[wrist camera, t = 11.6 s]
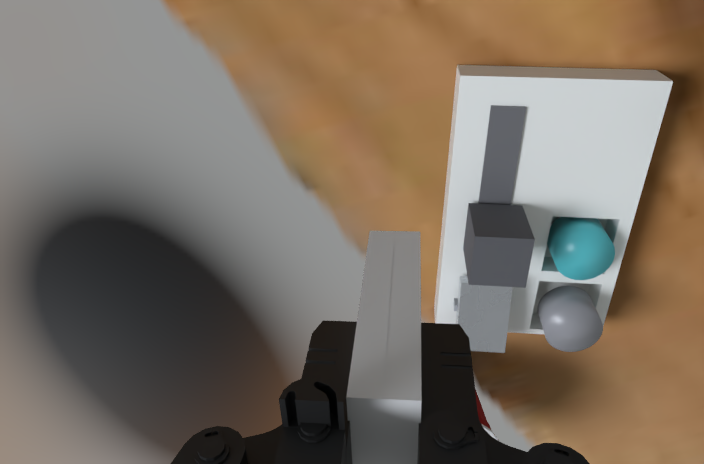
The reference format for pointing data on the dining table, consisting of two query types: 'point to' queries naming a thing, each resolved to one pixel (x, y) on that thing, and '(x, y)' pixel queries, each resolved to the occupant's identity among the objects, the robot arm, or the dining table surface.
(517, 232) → the slider knob
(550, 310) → the grey button
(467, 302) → the white block with nub
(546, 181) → the panel
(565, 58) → the dining table surface
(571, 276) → the teal button
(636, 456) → the dining table surface
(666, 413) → the dining table surface
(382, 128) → the dining table surface
